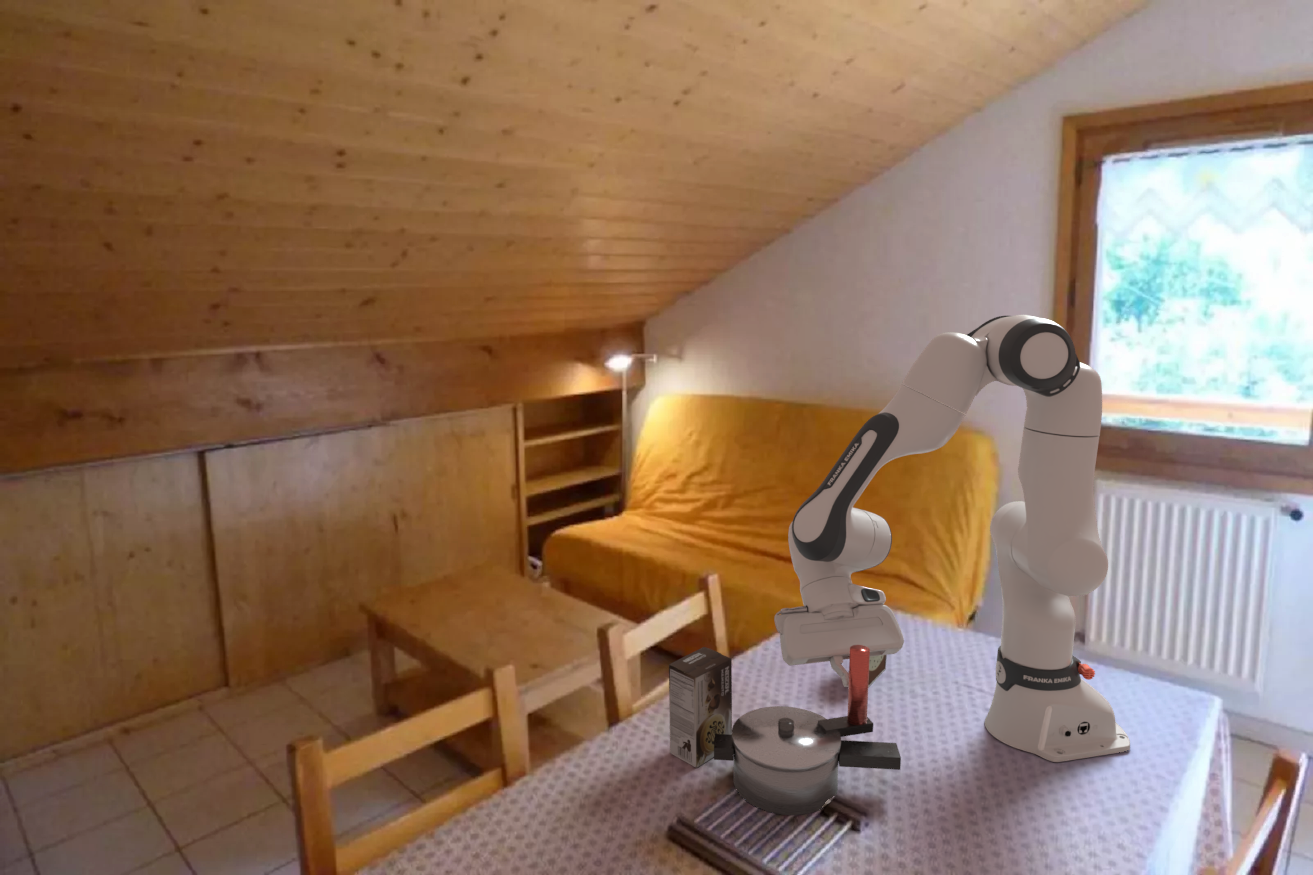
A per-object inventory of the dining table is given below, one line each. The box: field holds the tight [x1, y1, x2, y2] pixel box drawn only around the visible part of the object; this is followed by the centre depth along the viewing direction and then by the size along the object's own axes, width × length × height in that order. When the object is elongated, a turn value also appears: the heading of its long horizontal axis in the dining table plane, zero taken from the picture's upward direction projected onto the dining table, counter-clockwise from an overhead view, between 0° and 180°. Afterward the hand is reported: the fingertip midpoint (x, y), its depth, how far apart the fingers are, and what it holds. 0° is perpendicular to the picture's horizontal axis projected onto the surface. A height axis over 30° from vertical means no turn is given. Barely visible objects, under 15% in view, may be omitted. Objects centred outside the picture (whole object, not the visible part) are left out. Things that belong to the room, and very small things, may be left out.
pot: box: [713, 734, 902, 816], centre depth 128 cm, size 28×16×7 cm, turn 84°
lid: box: [732, 645, 874, 771], centre depth 126 cm, size 22×17×14 cm
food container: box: [868, 655, 888, 689], centre depth 162 cm, size 12×6×10 cm, turn 144°
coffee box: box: [668, 646, 733, 769], centre depth 136 cm, size 9×6×16 cm
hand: (853, 685), depth 131 cm, fingers closed, pressing on lid
